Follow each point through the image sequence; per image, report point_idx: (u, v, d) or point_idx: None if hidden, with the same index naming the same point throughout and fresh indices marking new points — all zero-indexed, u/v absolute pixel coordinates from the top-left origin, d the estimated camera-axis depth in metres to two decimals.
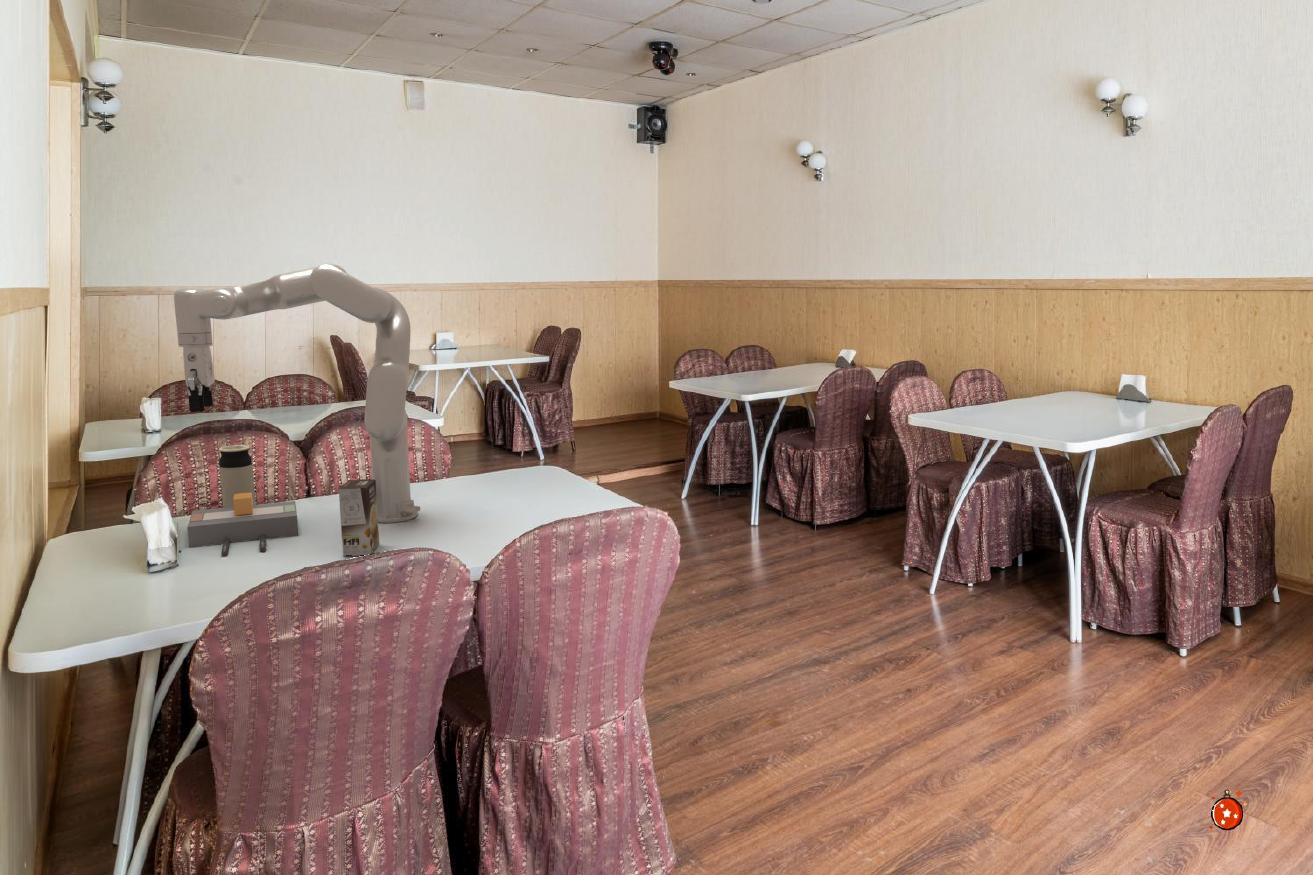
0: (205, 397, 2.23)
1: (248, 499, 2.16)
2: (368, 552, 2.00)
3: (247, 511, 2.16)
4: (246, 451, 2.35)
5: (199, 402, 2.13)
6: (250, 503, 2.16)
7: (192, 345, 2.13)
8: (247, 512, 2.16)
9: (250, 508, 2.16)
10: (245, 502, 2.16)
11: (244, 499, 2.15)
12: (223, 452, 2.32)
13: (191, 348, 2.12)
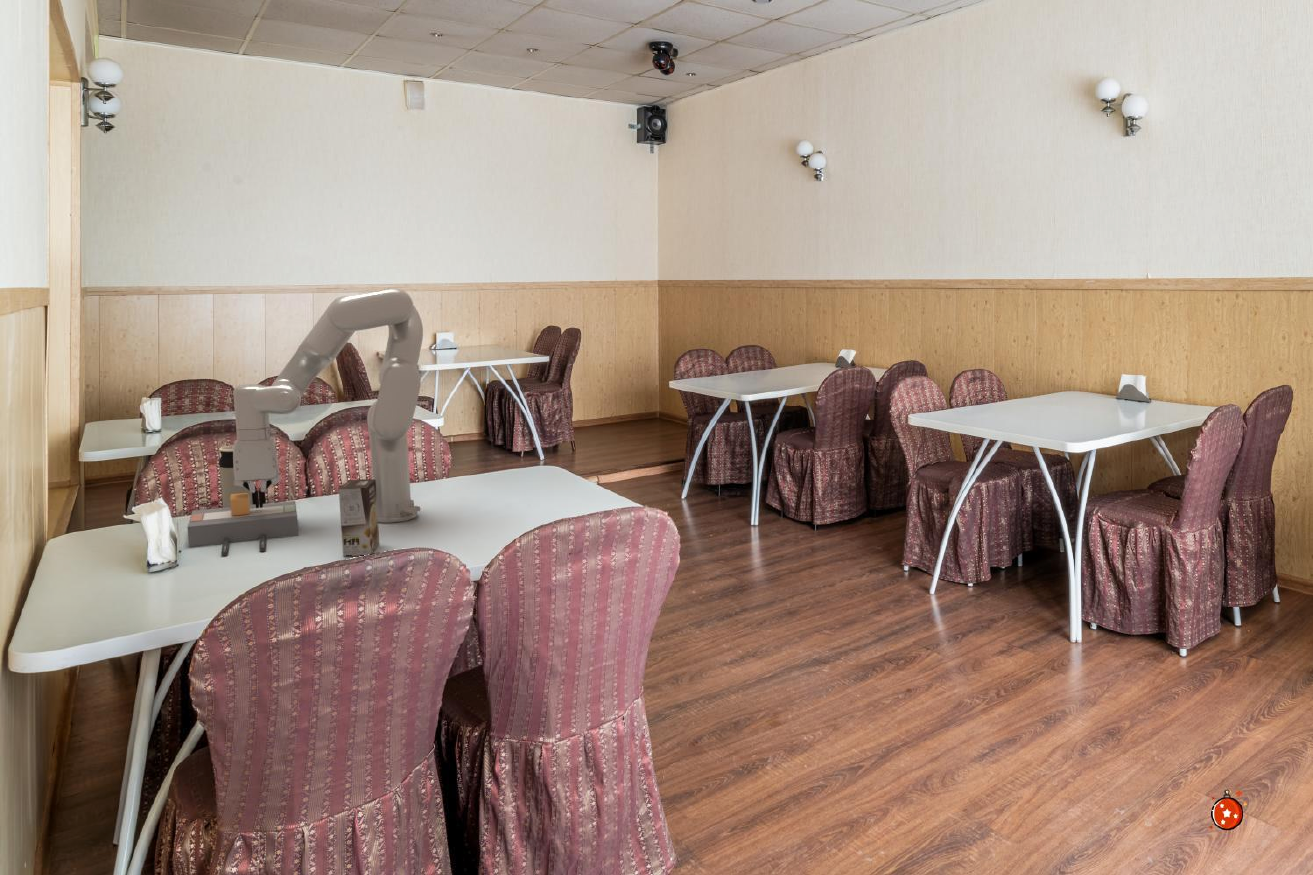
0: None
1: (245, 499, 2.15)
2: (368, 552, 2.00)
3: (244, 511, 2.16)
4: None
5: None
6: (247, 503, 2.16)
7: None
8: (244, 512, 2.16)
9: (247, 508, 2.16)
10: (242, 502, 2.15)
11: (241, 499, 2.15)
12: (223, 452, 2.32)
13: (273, 440, 2.19)
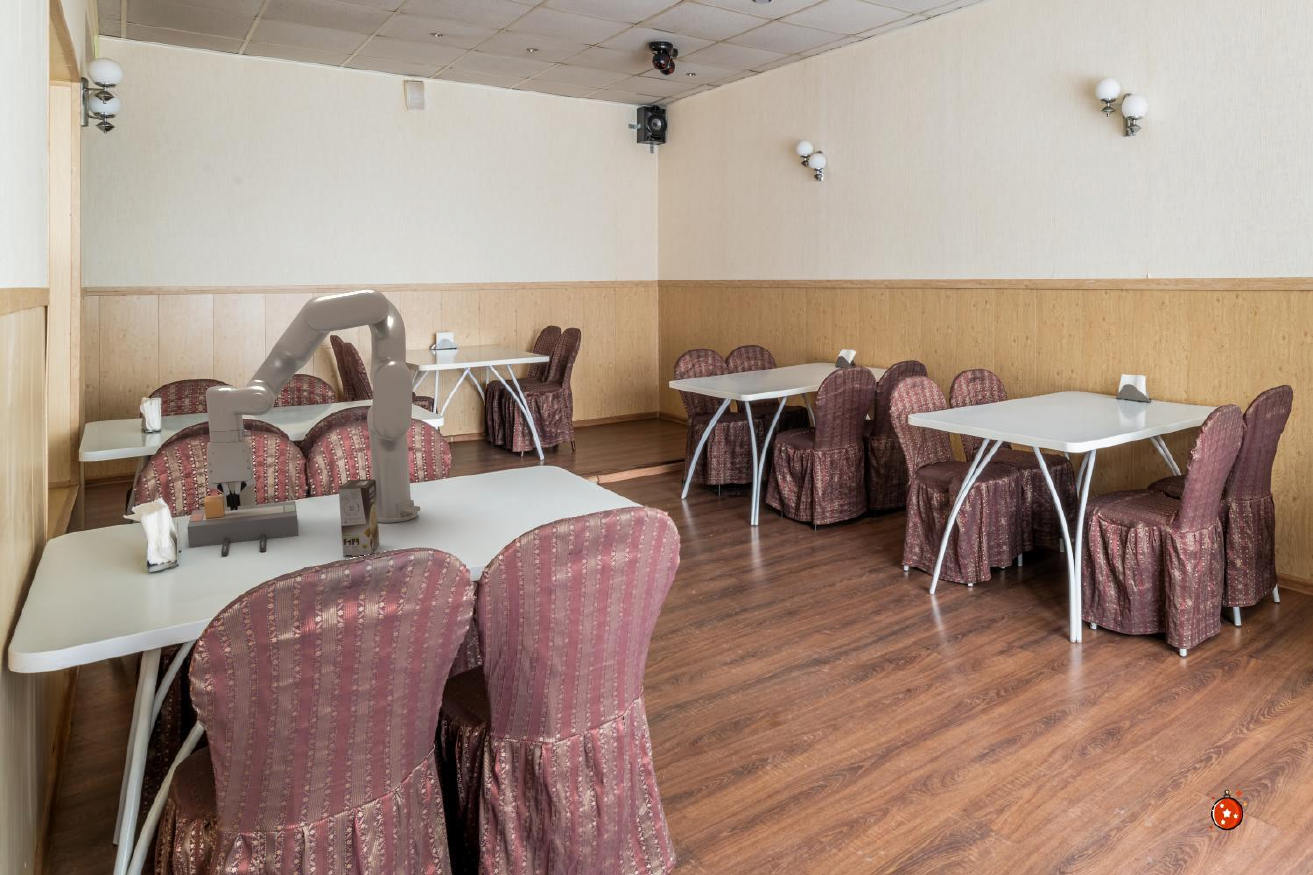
0: None
1: (219, 502, 2.13)
2: (368, 552, 2.00)
3: (218, 514, 2.14)
4: None
5: None
6: (221, 506, 2.14)
7: (244, 439, 2.16)
8: (218, 515, 2.14)
9: (221, 511, 2.14)
10: (216, 505, 2.13)
11: (215, 502, 2.13)
12: None
13: (247, 441, 2.16)
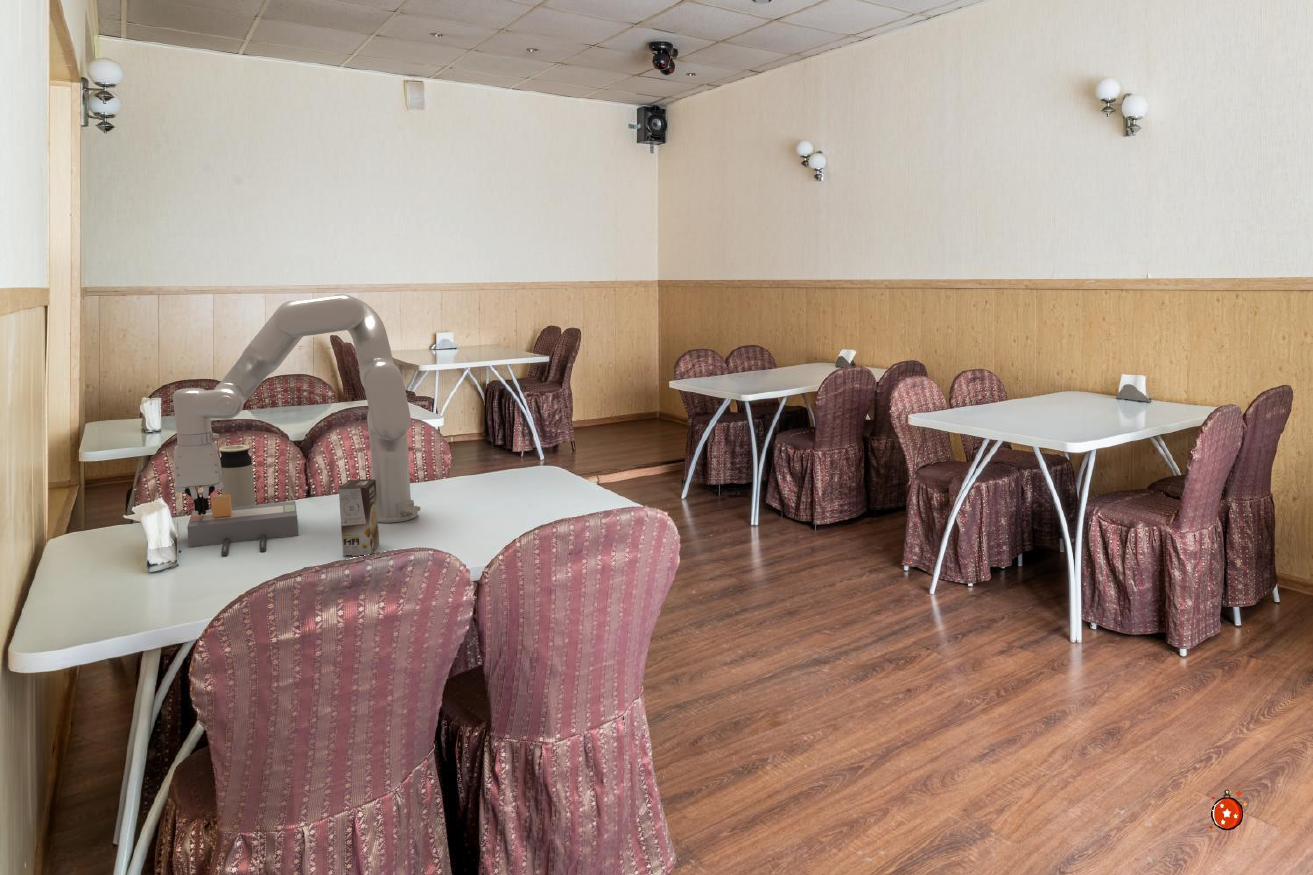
0: None
1: (226, 501, 2.14)
2: (368, 552, 2.00)
3: (226, 513, 2.14)
4: (246, 451, 2.35)
5: None
6: (228, 505, 2.14)
7: (212, 442, 2.13)
8: (225, 514, 2.14)
9: (228, 510, 2.14)
10: (223, 504, 2.14)
11: (222, 501, 2.13)
12: (223, 452, 2.32)
13: (216, 445, 2.14)
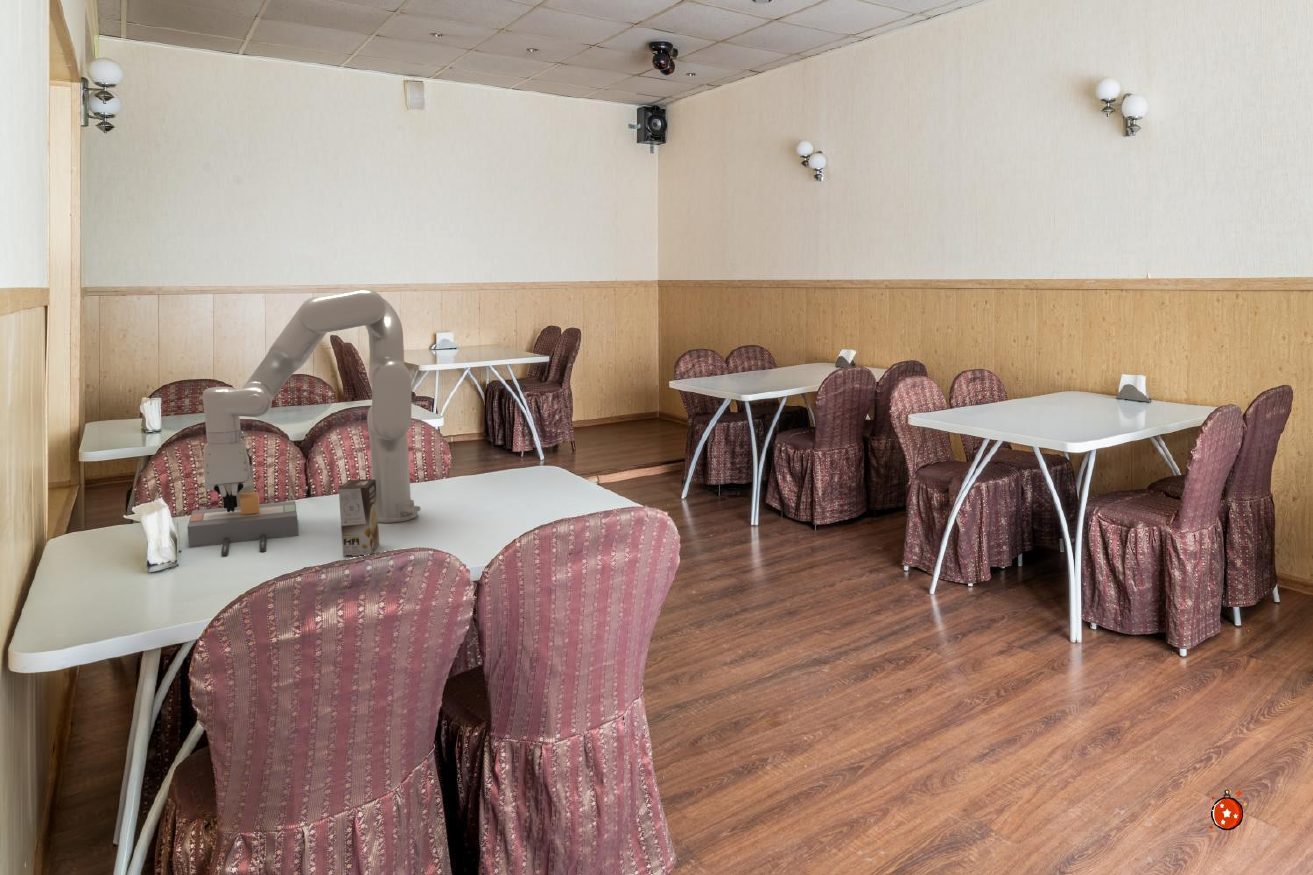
0: None
1: (255, 498, 2.16)
2: (368, 552, 2.00)
3: (254, 510, 2.17)
4: None
5: None
6: (257, 502, 2.17)
7: None
8: (254, 511, 2.17)
9: (257, 507, 2.17)
10: (252, 501, 2.16)
11: (251, 498, 2.16)
12: None
13: (244, 443, 2.16)
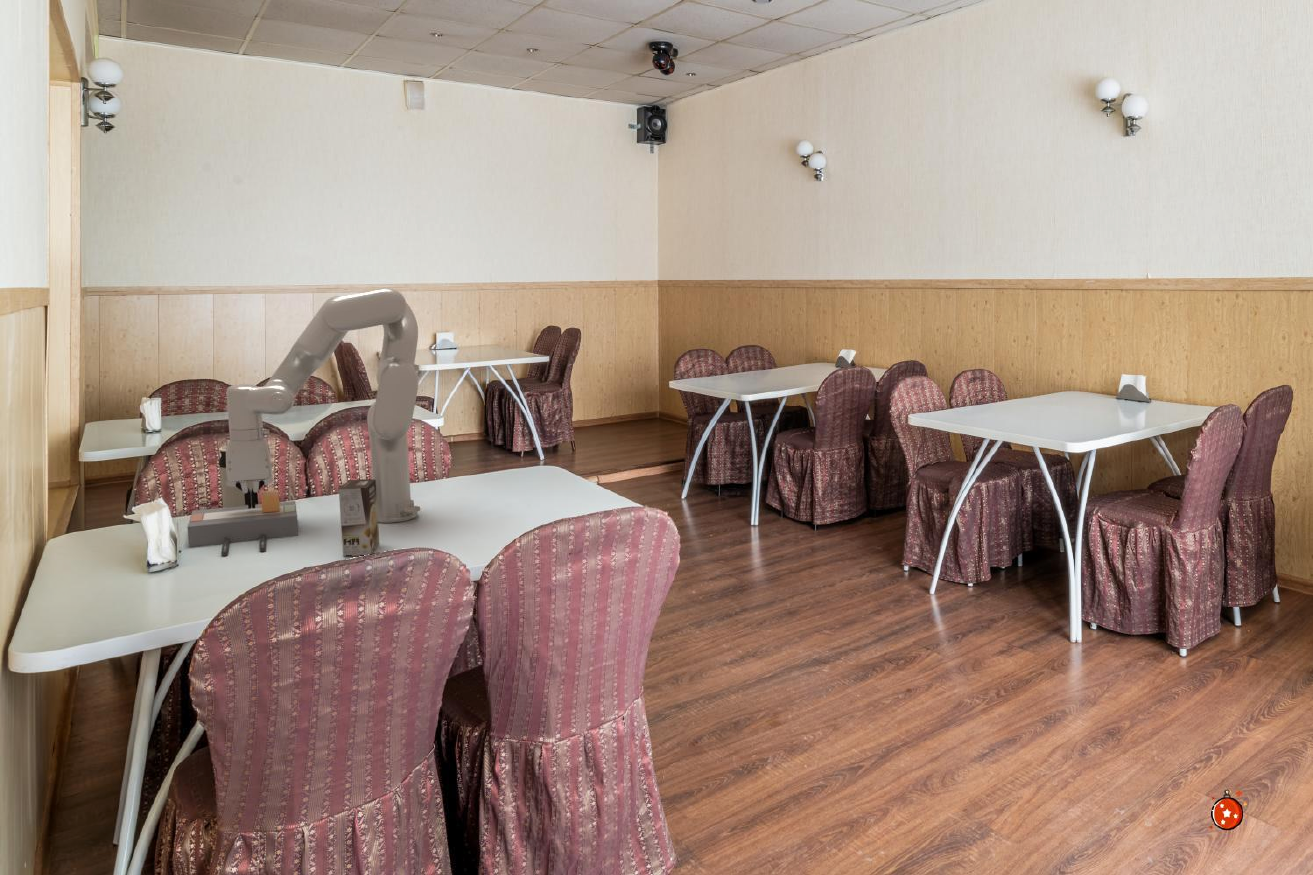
0: None
1: (275, 496, 2.18)
2: (368, 552, 2.00)
3: (275, 508, 2.19)
4: None
5: None
6: (277, 500, 2.19)
7: (263, 438, 2.18)
8: (274, 509, 2.19)
9: (277, 505, 2.19)
10: (272, 499, 2.18)
11: (271, 496, 2.18)
12: (223, 452, 2.32)
13: (266, 440, 2.18)
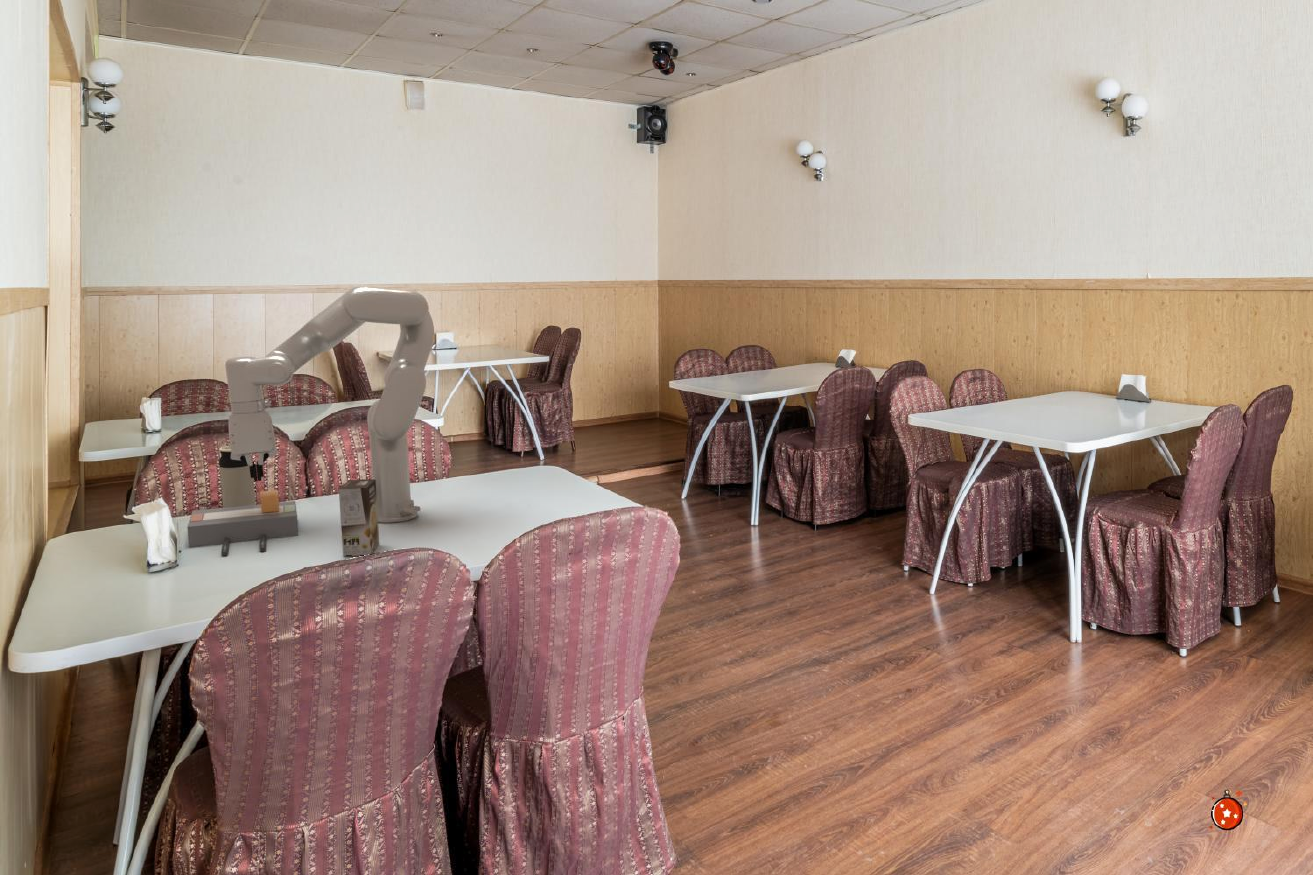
0: (256, 471, 2.18)
1: (275, 497, 2.18)
2: (368, 552, 2.00)
3: (274, 508, 2.19)
4: None
5: None
6: (277, 500, 2.18)
7: None
8: (274, 509, 2.19)
9: (277, 505, 2.19)
10: (272, 499, 2.18)
11: (271, 497, 2.18)
12: (223, 452, 2.32)
13: (268, 412, 2.17)
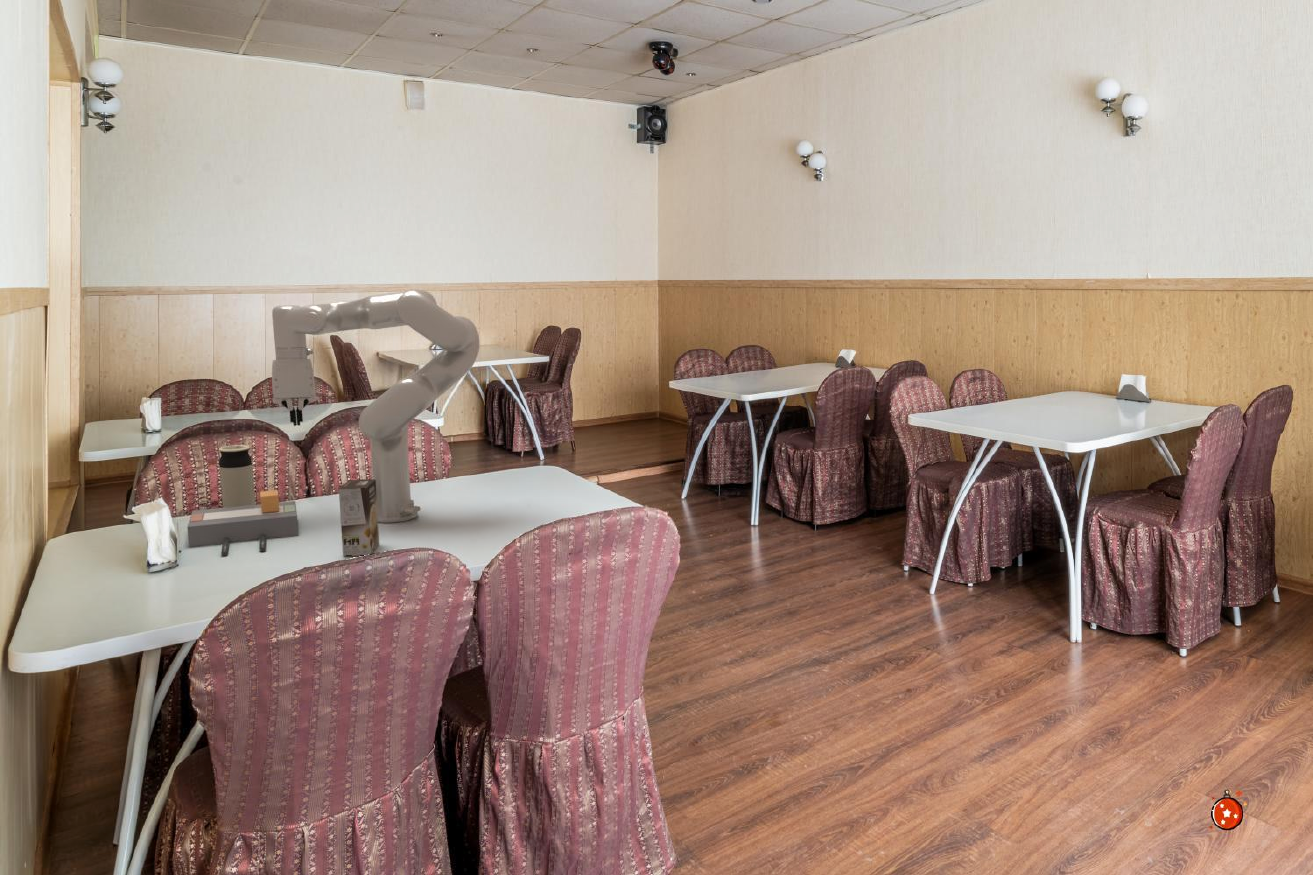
0: (295, 416, 2.28)
1: (275, 497, 2.18)
2: (368, 552, 2.00)
3: (274, 508, 2.19)
4: (246, 451, 2.35)
5: None
6: (277, 500, 2.18)
7: None
8: (274, 509, 2.19)
9: (277, 505, 2.19)
10: (272, 499, 2.18)
11: (271, 497, 2.18)
12: (223, 452, 2.32)
13: (310, 360, 2.27)
